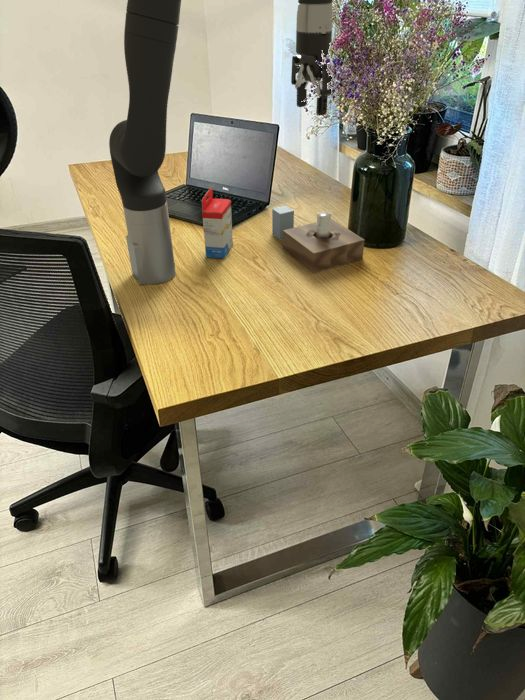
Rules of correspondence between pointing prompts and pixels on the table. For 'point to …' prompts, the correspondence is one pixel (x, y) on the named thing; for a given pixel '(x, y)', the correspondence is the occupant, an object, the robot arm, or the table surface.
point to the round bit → (323, 225)
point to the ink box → (217, 225)
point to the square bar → (282, 220)
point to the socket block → (323, 246)
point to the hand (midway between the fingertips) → (311, 110)
